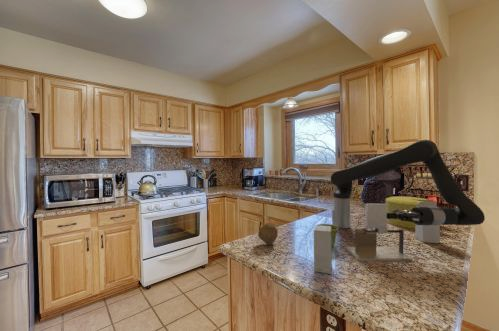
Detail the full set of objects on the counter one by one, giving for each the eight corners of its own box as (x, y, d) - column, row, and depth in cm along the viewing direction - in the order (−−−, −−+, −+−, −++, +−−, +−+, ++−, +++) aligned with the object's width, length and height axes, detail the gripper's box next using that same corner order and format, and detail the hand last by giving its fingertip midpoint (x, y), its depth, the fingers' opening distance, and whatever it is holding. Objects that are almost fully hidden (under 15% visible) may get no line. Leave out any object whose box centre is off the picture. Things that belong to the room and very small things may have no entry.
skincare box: (331, 274, 78) (331, 232, 77) (313, 271, 80) (313, 230, 80) (331, 264, 86) (332, 225, 85) (315, 261, 88) (315, 223, 87)
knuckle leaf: (367, 233, 93) (368, 204, 92) (364, 231, 96) (364, 203, 95) (387, 233, 93) (387, 204, 92) (383, 231, 95) (383, 203, 95)
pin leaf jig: (358, 260, 88) (359, 233, 88) (345, 248, 100) (346, 224, 100) (412, 261, 88) (413, 233, 88) (393, 248, 100) (393, 224, 100)
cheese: (448, 229, 129) (449, 203, 128) (402, 229, 129) (402, 203, 129) (415, 217, 155) (415, 195, 154) (377, 217, 155) (377, 195, 155)
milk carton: (439, 243, 107) (440, 203, 106) (422, 242, 108) (423, 203, 108) (430, 238, 114) (431, 200, 113) (415, 237, 115) (415, 200, 115)
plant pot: (337, 243, 107) (338, 225, 107) (338, 250, 98) (339, 230, 98) (317, 240, 110) (317, 223, 110) (316, 247, 101) (316, 228, 101)
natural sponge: (255, 246, 103) (255, 224, 103) (261, 240, 111) (261, 220, 111) (275, 249, 100) (275, 227, 99) (279, 242, 108) (279, 221, 108)
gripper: (440, 229, 87) (396, 229, 87) (415, 220, 100) (376, 220, 100) (441, 210, 87) (396, 210, 87) (416, 203, 100) (377, 203, 100)
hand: (385, 215), depth 94 cm, fingers closed
